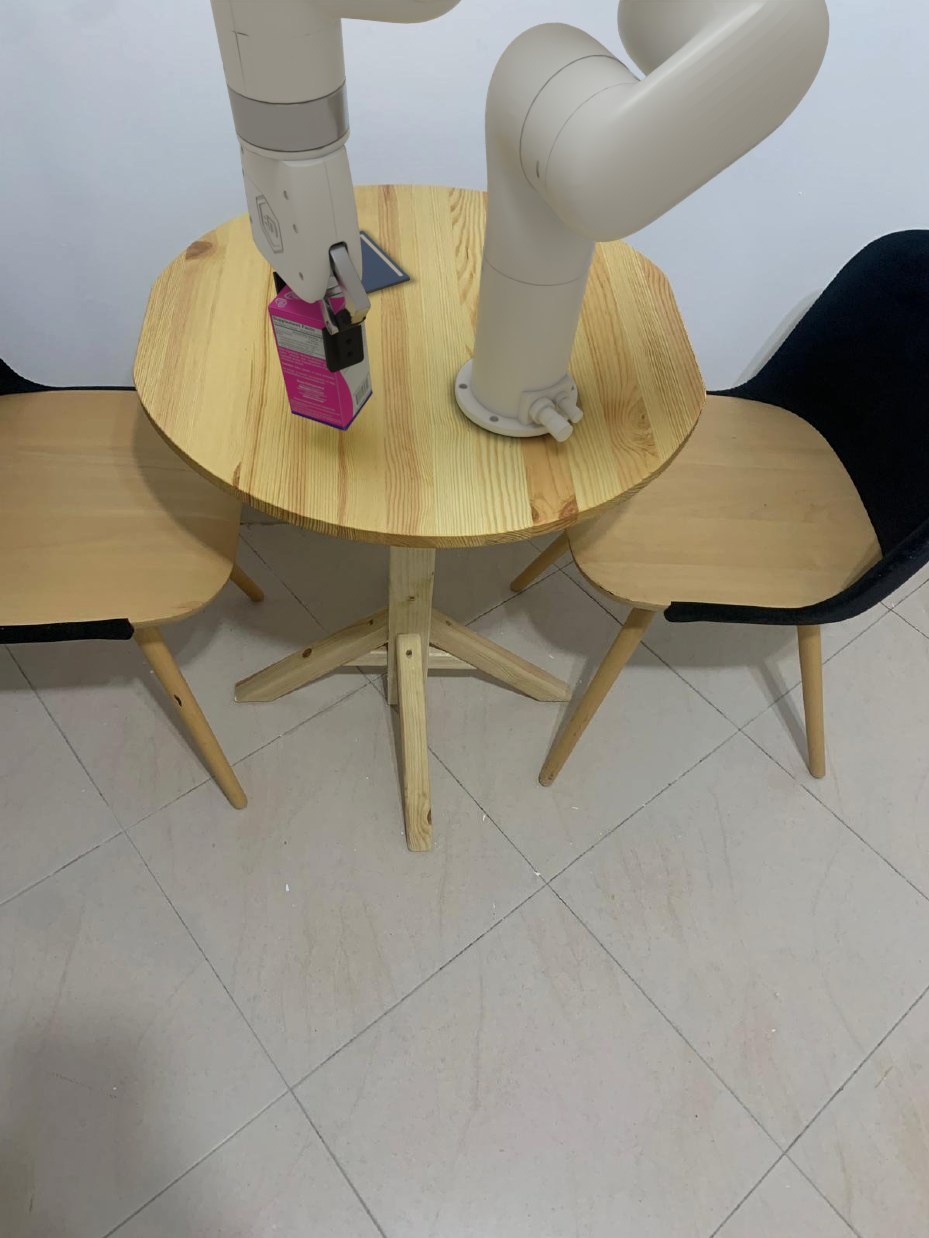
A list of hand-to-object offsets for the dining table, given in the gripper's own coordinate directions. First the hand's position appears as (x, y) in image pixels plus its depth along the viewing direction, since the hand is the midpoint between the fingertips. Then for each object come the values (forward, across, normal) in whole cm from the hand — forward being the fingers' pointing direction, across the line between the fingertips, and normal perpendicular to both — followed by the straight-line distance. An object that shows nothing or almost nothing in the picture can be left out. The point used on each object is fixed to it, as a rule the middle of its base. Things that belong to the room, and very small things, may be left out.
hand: (321, 336), depth 65 cm
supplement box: (+8, 0, 0) cm, 8 cm away
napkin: (+12, -24, +15) cm, 31 cm away
